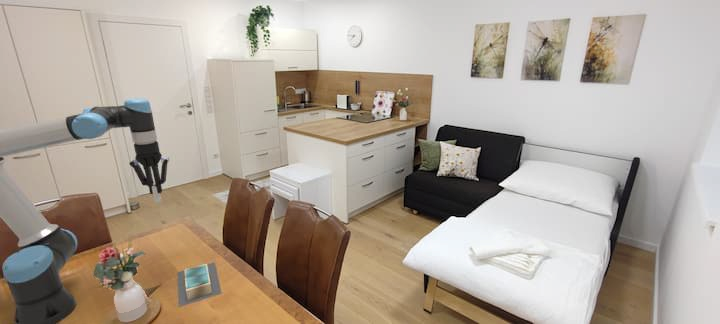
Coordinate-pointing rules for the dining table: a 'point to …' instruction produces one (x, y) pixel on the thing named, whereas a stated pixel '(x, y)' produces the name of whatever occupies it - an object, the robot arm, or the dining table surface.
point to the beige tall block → (197, 281)
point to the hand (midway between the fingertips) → (158, 200)
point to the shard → (151, 290)
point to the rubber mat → (215, 291)
